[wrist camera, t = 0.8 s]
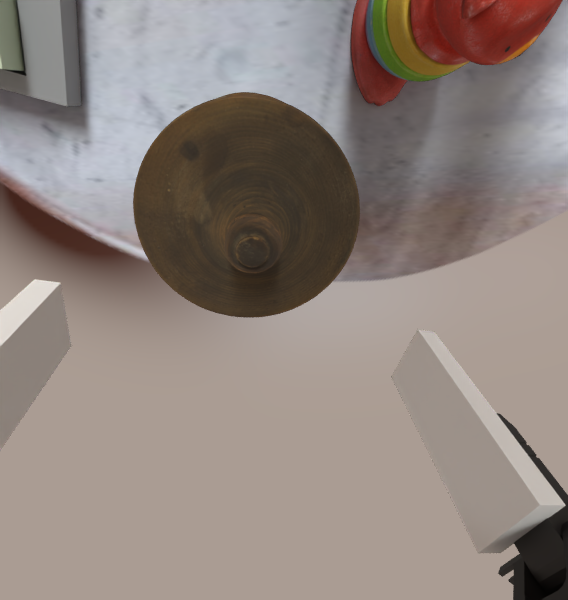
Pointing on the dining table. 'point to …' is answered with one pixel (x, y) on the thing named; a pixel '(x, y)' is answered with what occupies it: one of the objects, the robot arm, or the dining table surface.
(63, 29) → the console
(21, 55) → the sage green key
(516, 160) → the dining table surface
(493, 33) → the stacking bear
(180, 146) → the wooden container
